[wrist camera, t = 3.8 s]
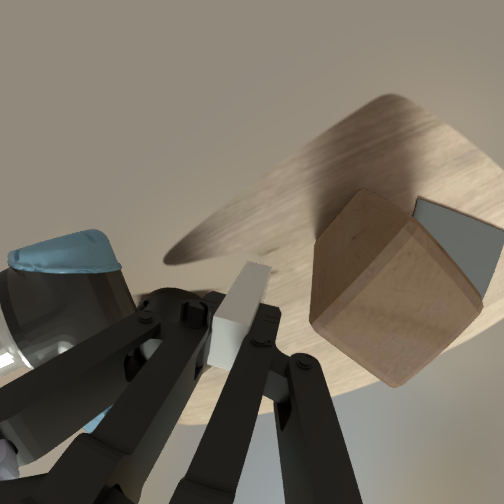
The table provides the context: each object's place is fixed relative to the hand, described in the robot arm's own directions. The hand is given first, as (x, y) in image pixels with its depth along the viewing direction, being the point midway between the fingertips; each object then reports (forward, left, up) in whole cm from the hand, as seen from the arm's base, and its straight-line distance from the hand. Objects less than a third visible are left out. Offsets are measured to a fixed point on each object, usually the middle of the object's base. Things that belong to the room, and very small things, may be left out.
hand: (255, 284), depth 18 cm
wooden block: (+11, 0, -20) cm, 23 cm away
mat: (+25, +1, -20) cm, 32 cm away
